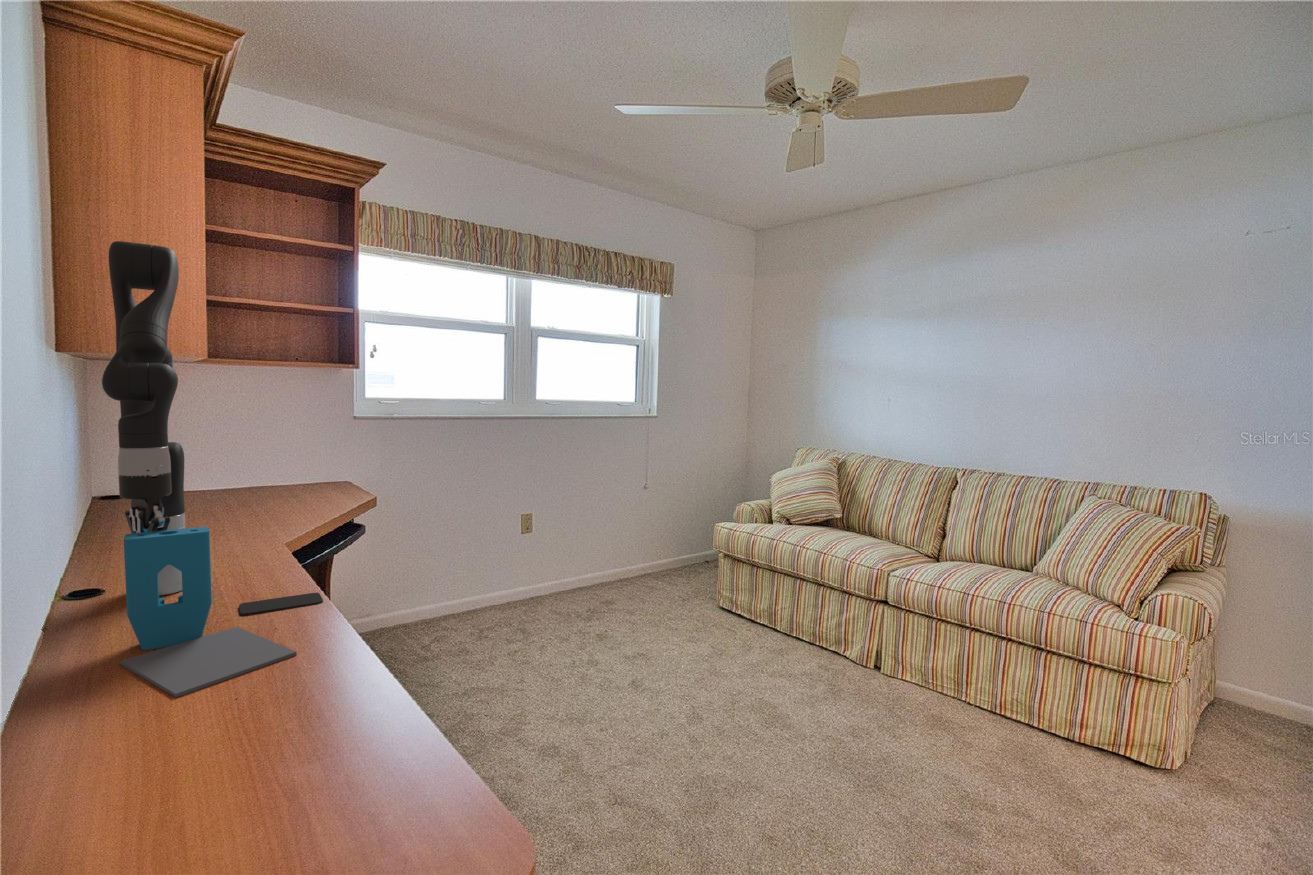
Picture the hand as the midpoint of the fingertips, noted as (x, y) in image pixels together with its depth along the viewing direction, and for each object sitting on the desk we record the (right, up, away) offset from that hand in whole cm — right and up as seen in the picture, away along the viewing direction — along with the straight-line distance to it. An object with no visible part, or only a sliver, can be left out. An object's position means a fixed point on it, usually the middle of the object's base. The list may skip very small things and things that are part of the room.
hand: (149, 563), depth 117 cm
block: (+7, -14, -3) cm, 16 cm away
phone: (+15, -13, +17) cm, 26 cm away
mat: (+19, -14, -10) cm, 26 cm away
